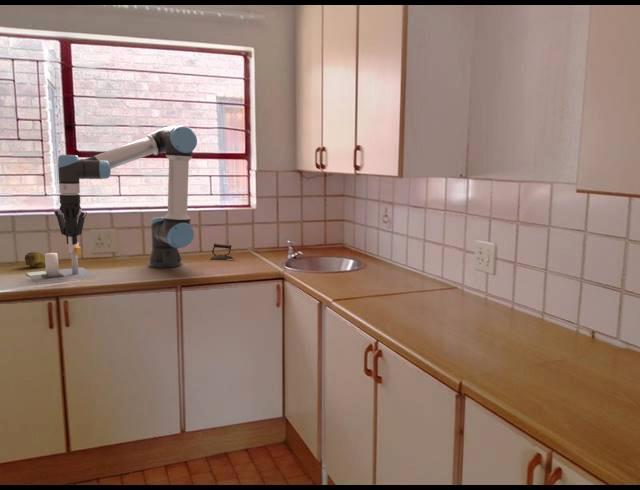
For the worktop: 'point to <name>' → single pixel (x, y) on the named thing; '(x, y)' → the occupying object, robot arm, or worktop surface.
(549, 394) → the worktop surface
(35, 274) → the pad
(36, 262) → the potato
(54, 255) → the plug
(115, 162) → the robot arm
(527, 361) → the worktop surface
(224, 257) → the clothes iron
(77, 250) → the orange bar
